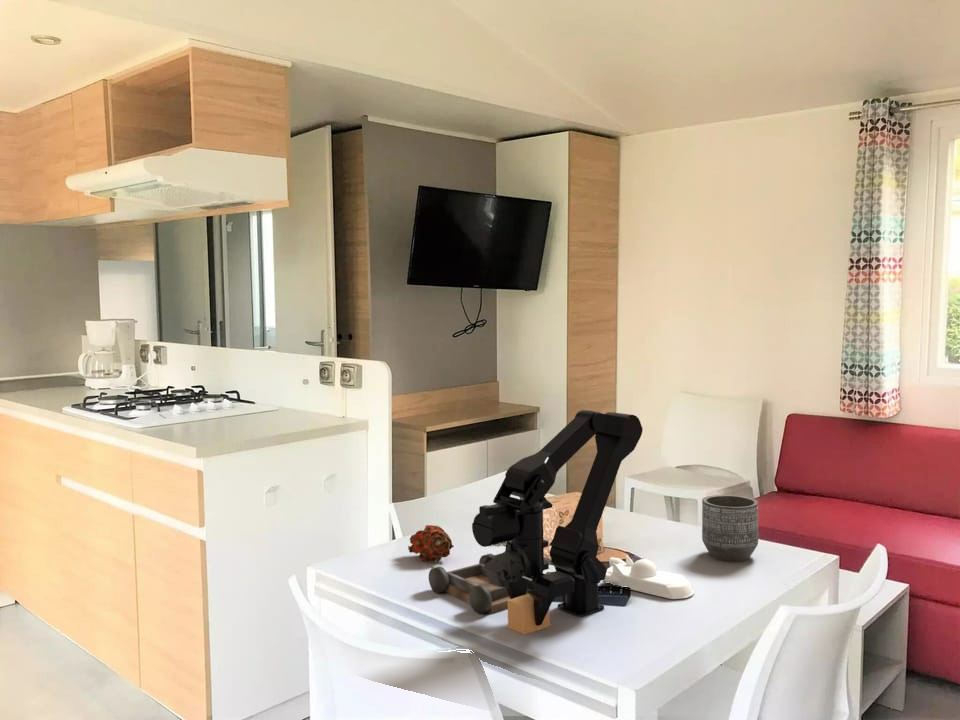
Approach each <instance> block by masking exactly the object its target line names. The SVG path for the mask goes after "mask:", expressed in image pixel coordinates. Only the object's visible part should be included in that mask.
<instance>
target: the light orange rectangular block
mask: <svg viewBox="0 0 960 720" xmlns="http://www.w3.org/2000/svg"><path fill="white" fill-rule="evenodd" d="M550 618H551V617H550V609H549V610H548V612H547V614H546V616H545V618H544V620H543V623H542V624H541V625H539V626H537V625H536V623H535V615H534V602H533V598H532V597H531V596H530V595H529V594H526V595H523V596H520V597H516V598H513V599H510V600H508V609H507V626H508V627H507V628H510V629H511V630H513V631H516V632H518V633H520V634H523V635H526V634H530V633H533V632H535V631H539V630H542V629H544V628H548V627H550Z"/></svg>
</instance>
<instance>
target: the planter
mask: <svg viewBox="0 0 960 720" xmlns="http://www.w3.org/2000/svg"><path fill="white" fill-rule="evenodd" d="M701 501H702V505H701V506H702V510H701V513H702V516H701V519H702V521H701V522H702V523H701V524H702V526H701V527H702V528H701V539H702V542H703V544H704V546H705V549H706V550H707V551H708V553H709V554H710V556H711V557H712V558H713V559H716V560H718V561H723V562H730V563H739V562H745V561H747V560H749V559H750V557H751V556H752V554H753V553H754V552H755V550H756V548H757V546H758V544H759V501H758V500H757V499H754V498H751V497H748V496H744V495H735V494H714V495H713V494H712V495H707V496H705V497H703V498H702V500H701Z"/></svg>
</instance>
